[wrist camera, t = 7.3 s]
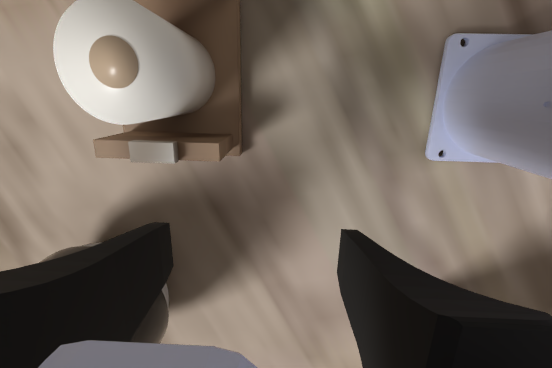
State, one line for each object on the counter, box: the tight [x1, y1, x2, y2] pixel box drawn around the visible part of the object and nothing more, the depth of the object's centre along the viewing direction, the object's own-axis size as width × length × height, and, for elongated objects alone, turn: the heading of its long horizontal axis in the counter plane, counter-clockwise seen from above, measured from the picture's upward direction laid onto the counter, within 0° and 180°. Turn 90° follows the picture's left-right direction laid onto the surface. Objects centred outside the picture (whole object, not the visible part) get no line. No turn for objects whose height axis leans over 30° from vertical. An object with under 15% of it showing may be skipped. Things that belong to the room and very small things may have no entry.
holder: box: [93, 0, 242, 163], centre depth 17 cm, size 8×11×6 cm
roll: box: [53, 0, 215, 125], centre depth 15 cm, size 5×5×7 cm
